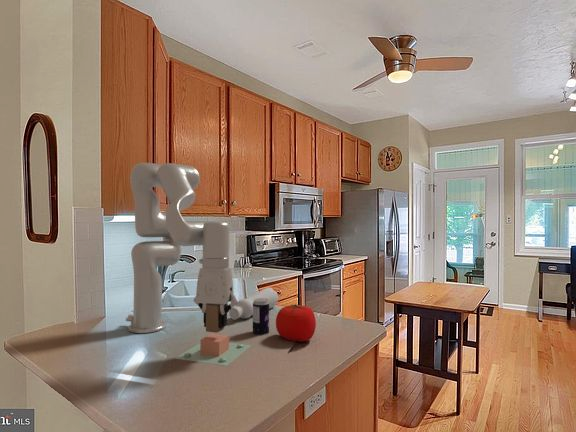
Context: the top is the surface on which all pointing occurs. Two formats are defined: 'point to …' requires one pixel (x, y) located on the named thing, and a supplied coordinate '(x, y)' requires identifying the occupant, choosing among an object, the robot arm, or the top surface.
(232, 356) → the baseplate
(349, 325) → the top surface
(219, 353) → the brick
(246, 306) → the bottle
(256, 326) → the beverage can
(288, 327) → the tomato
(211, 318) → the wooden block
